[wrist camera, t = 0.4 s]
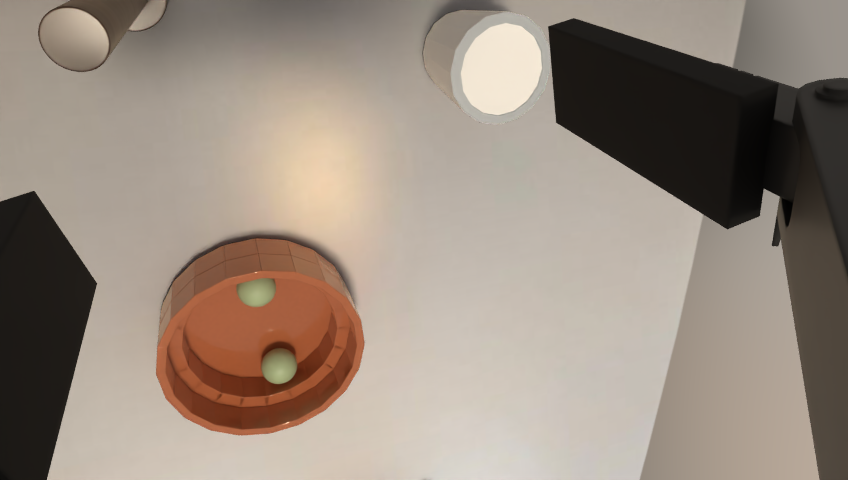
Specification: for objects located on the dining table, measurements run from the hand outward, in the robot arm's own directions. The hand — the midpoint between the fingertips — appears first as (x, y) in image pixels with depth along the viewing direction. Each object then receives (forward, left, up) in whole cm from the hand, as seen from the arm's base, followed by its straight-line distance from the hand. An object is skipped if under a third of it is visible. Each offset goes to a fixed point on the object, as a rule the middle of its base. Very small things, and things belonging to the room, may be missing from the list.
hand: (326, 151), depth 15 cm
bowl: (+20, +9, -26) cm, 34 cm away
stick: (+2, -7, -26) cm, 27 cm away
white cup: (-5, +13, -26) cm, 30 cm away
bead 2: (+22, +12, -24) cm, 35 cm away
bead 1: (+16, +8, -24) cm, 30 cm away
